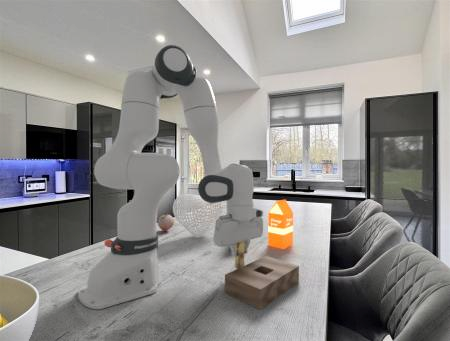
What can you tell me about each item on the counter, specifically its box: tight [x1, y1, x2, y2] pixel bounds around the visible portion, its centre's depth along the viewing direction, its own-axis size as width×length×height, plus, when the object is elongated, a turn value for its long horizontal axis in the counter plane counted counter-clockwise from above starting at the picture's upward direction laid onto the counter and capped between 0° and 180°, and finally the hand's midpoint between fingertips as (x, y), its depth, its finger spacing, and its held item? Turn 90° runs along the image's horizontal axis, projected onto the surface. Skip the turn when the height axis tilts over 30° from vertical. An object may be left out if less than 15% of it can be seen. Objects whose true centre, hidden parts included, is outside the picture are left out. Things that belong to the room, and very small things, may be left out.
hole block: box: [224, 255, 300, 310], centre depth 72 cm, size 20×12×5 cm, turn 137°
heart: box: [172, 193, 224, 239], centre depth 122 cm, size 28×16×22 cm, turn 140°
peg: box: [234, 241, 245, 269], centre depth 82 cm, size 3×3×10 cm
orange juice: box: [267, 199, 294, 250], centre depth 112 cm, size 8×9×20 cm
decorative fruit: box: [157, 212, 175, 232], centre depth 133 cm, size 9×8×10 cm
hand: (239, 254), depth 82 cm, fingers closed on peg, 3 cm apart
